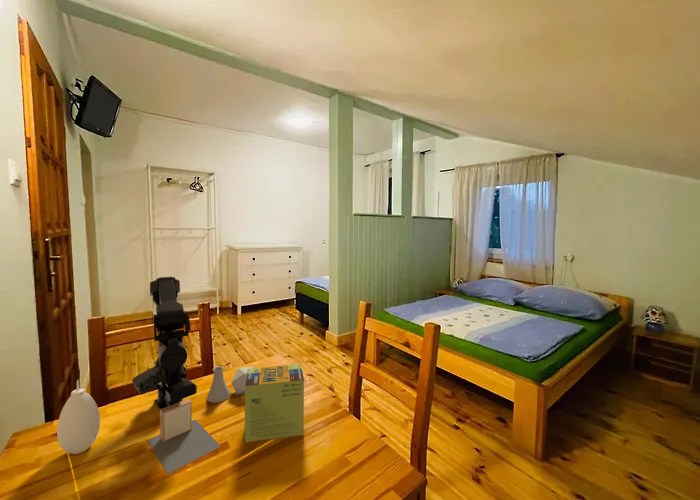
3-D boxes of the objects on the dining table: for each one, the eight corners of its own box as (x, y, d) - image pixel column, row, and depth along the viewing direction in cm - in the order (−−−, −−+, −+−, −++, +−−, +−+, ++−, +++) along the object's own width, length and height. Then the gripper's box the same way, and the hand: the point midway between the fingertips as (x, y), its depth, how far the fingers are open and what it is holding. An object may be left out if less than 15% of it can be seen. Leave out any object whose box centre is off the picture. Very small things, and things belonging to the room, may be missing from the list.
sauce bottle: (67, 444, 77) (64, 375, 76) (105, 437, 80) (103, 370, 79) (51, 466, 70) (48, 390, 69) (94, 457, 73) (91, 384, 72)
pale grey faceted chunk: (247, 403, 97) (264, 374, 101) (222, 390, 97) (241, 360, 101) (250, 399, 105) (266, 372, 109) (227, 386, 105) (244, 359, 109)
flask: (221, 405, 95) (221, 374, 95) (201, 402, 97) (200, 372, 96) (234, 393, 102) (234, 364, 102) (215, 391, 104) (215, 362, 103)
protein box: (304, 435, 82) (304, 379, 81) (244, 444, 78) (244, 386, 77) (300, 412, 92) (301, 363, 91) (247, 419, 88) (247, 367, 87)
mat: (146, 441, 78) (146, 440, 78) (195, 420, 87) (195, 419, 87) (168, 475, 68) (167, 473, 68) (220, 447, 77) (220, 446, 77)
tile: (160, 438, 79) (159, 409, 78) (188, 426, 84) (188, 398, 83) (163, 443, 77) (162, 413, 77) (192, 430, 83) (191, 402, 82)
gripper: (125, 354, 82) (127, 410, 82) (146, 376, 69) (147, 442, 70) (171, 343, 90) (172, 394, 91) (197, 361, 77) (198, 420, 78)
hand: (172, 411), depth 82 cm, fingers closed
